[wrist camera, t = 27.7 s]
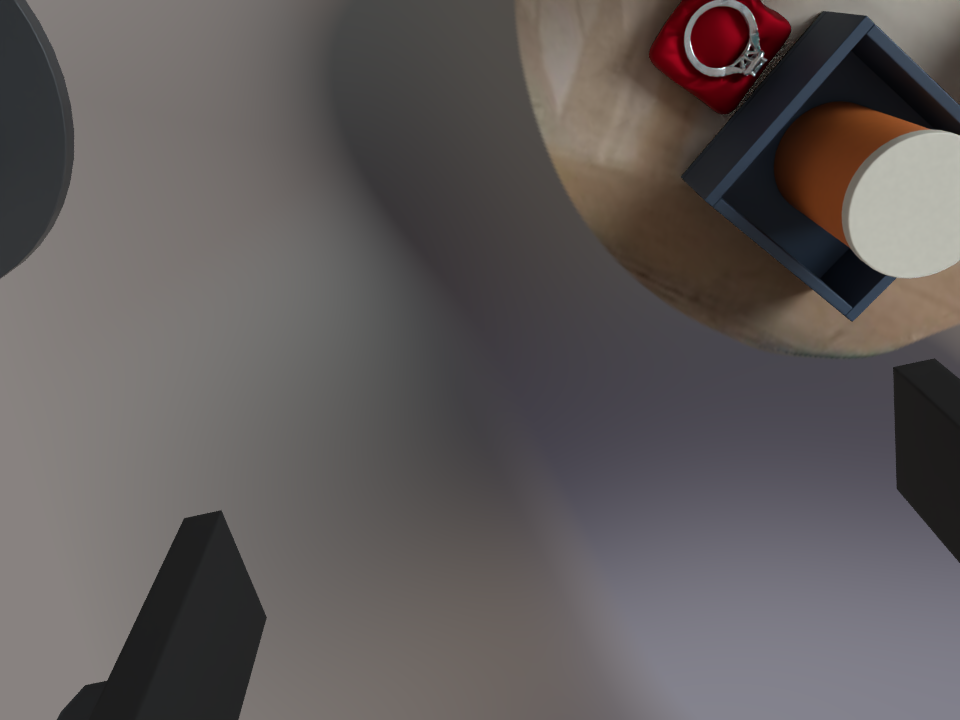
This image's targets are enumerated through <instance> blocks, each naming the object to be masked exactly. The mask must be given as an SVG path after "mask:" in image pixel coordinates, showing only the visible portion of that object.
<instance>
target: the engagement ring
mask: <svg viewBox="0 0 960 720" xmlns="http://www.w3.org/2000/svg"><path fill="white" fill-rule="evenodd" d="M790 32H791V26H790V24H789V22H788V21H787V20H786V19H785V18H784V17H783V16H782V15H780V14H779V13H777V12H776V11H774V10H772V9H769V8H768V7H766V6H765V5H763V4H762V2H761V1H760V0H682V1H681V3H680V4H679V5H678V7H677V8H676V9H675V10H674V12H673V13H672V14H671V16H670V17H669V19H668V20H667V22H666V23H665V25H664V26H663V28H662V29H661V31H660V33H659V34H658V36H657V38H656V39H655V41H654V42H653V44H652V46H651V48H650V51H649V58H650V60H651V62H652V63H653V65H654V66H655V67H656V68H658V69H659V70H660V71H661V72H663V73H664V74H665V75H666V76H668V77H669V78H670V79H671V80H673V81H674V82H675V83H677V84H678V85H680V86H682V87H683V88H685V89H686V90H687V91H689V92H690V93H692V94H693V95H694V96H696V97H697V98H698V99H700V100H701V101H702V102H704V103H705V104H706V105H707V106H709V107H710V108H711V109H712V110H714V111H715V112H717V113H719V114H729V113H730V112H732V111H733V110H734V109H735V108H736V107H737V106H738V104H739V103H740V102H741V100H742V99H743V97H744V96H745V95H746V93H747V92H748V91H749V89H750V88H751V86H752V85H753V84H754V82H755V81H756V80H757V79H758V77H759V76H760V74H761V73H762V72H763V71H764V69H765V68H766V67H767V65H768V64H769V63H770V61H771V60H772V59H773V57H774V56H775V55H776V54H777V53H778V51H779V50H780V49H781V47H782V46H783V45H784V43H785V42H786V40H787V39H788V37H789V35H790Z"/></svg>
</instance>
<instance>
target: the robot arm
mask: <svg viewBox="0 0 960 720" xmlns="http://www.w3.org/2000/svg"><path fill="white" fill-rule="evenodd" d="M893 372H894V373H893V374H894V410H895V441H896V442H895V444H896V478H897V489H898V491H899V492H900V493H901V494H902V495H903V497H904V498H905V499H906V500H907V501H908V502H909V504H910V505H911V506H912V507H913V508H914V510H915V511H916V512H917V513H918V514H919V515H920V517H921V518H922V519H923V520H924V521H925V522H926V524H927V525H928V526H929V527H930V528H931V530H932V531H933V532H934V533H935V534H936V535H937V537H938V538H939V539H940V540H941V541H942V543H943V544H944V545H945V546H946V547H947V548H948V550H949V551H950V552H951V553H952V554H953V556H954V557H955V558H956V559H957V560H958V561H959V563H960V379H959V378H958V377H956V376H955V375H954V374H953V373H951V372H950V371H949V370H948V369H947V368H945V367H944V366H943V365H942V364H941V363H939V362H938V361H937V360H936V359H930V360H926V361H921V362H916V363H911V364H906V365H902V366H897V367H893ZM266 618H267V617H266V615H265V612H264V610H263V608H262V605H261V603H260V601H259V598H258V596H257V594H256V591H255V589H254V587H253V584H252V582H251V579H250V577H249V575H248V572H247V570H246V568H245V565H244V563H243V560H242V558H241V556H240V553H239V551H238V549H237V546H236V544H235V542H234V539H233V537H232V534H231V532H230V530H229V528H228V525H227V523H226V520H225V518H224V516H223V513H222V511H216V512H212V513H207V514H202V515H197V516H193V517H188V518H184V520H183V522H182V524H181V526H180V528H179V530H178V533H177V535H176V537H175V539H174V541H173V543H172V545H171V547H170V550H169V551H168V554H167V556H166V558H165V560H164V562H163V564H162V566H161V568H160V570H159V573H158V575H157V577H156V579H155V581H154V583H153V585H152V588H151V590H150V592H149V594H148V596H147V598H146V600H145V602H144V604H143V606H142V608H141V611H140V613H139V615H138V617H137V619H136V621H135V623H134V625H133V628H132V630H131V632H130V634H129V636H128V638H127V640H126V642H125V645H124V647H123V649H122V651H121V653H120V655H119V657H118V659H117V661H116V663H115V666H114V668H113V670H112V672H111V674H110V676H109V678H108V680H107V681H104V682H99V683H94V684H90V685H85V686H84V687H83V688H82V689H81V690H80V692H79V693H78V694H77V695H76V696H75V697H74V698H73V699H72V701H70V703H69V704H68V705H67V706H66V707H65V708H64V709H63V710H62V711H61V713H60V715H59V717H58V719H57V720H238V719H239V715H240V712H241V708H242V705H243V701H244V697H245V694H246V690H247V686H248V683H249V679H250V676H251V672H252V668H253V665H254V661H255V657H256V654H257V650H258V647H259V643H260V639H261V636H262V632H263V628H264V625H265V621H266Z"/></svg>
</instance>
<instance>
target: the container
mask: <svg viewBox="0 0 960 720" xmlns="http://www.w3.org/2000/svg"><path fill="white" fill-rule="evenodd" d="M774 176H775V181H776V184H777V187H778V189H779V191H780V193H781V195H782V196H783V197H784V199H785V200H786V201H787V202H788V203H789V204H790V205H791V206H793V207H794V208H796V209H797V210H798V211H800V212H801V213H802V214H804V215H805V216H807V217H808V218H809V219H811V220H812V221H813V222H815V223H816V224H818V225H819V226H820V227H822V228H823V229H824V230H826V231H827V232H829V233H830V234H831V235H833V236H834V237H835V238H837V239H838V240H840V241H841V242H842V243H844V244H845V245H846V246H848V247H849V248H851V250H852V251H853V252H854V254H855V255H856V256H857V257H858V258H859V259H860V260H861V261H863V262H864V263H865V264H867V265H868V266H869V267H871V268H872V269H874V270H876V271H878V272H879V273H882V274H884V275H887V276H891V277H896V278H919V277H924V276H929V275H932V274H935V273H938V272H940V271H942V270H945V269H947V268H949V267H950V266H952V265H954V264H955V263H957V262H958V261H960V135H957V134H954V133H951V132H947V131H943V130H932V129H928V128H925V127H922V126H920V125H917V124H914V123H911V122H908V121H905V120H902V119H899V118H896V117H893V116H890V115H887V114H885V113H882V112H879V111H876V110H873V109H870V108H867V107H864V106H861V105H858V104H855V103H851V102H842V101H839V102H830V103H825V104H822V105H819V106H816V107H814V108H812V109H810V110H809V111H807V112H805V113H804V114H802V115H801V116H800V117H799V118H797V119H796V120H795V121H794V122H793V123H792V124H791V126H790V127H789V128H788V129H787V131H786V132H785V134H784V135H783V137H782V139H781V141H780V143H779V145H778V148H777V151H776V155H775V160H774Z"/></svg>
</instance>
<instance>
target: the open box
mask: <svg viewBox="0 0 960 720" xmlns="http://www.w3.org/2000/svg"><path fill="white" fill-rule="evenodd" d="M839 101H842V102H851V103H855V104H858V105H861V106H864V107H867V108H870V109H873V110H876V111H879V112H882V113H885V114H887V115H890V116H893V117H896V118H899V119H902V120H905V121H908V122H911V123H914V124H917V125H920V126H922V127H925V128H928V129H932V130H943V131H947V132H951V133H954V134H957V135H960V105H959V104H958V103H957V102H956V101H955V100H954V99H952V98H951V97H950V96H949V95H948V94H947V93H946V92H945V91H944V90H943V89H942V88H941V87H940V86H939V85H938V84H937V83H936V82H935V81H934V80H933V79H932V78H931V77H930V76H929V75H928V74H926V73H925V72H924V71H923V70H922V69H921V68H920V67H919V66H918V65H917V64H916V63H915V62H914V61H913V60H912V59H911V58H910V57H909V56H908V55H907V54H906V53H905V52H904V51H903V50H902V49H900V48H899V47H898V46H897V45H896V44H895V43H894V42H893V41H892V40H891V39H890V38H889V37H888V36H887V35H886V34H885V33H884V32H883V31H882V30H881V29H880V28H879V27H878V26H877V25H875V24H874V22H873V21H872V20H870V19H869V18H868V17H867V16H863V15H854V14H845V13H836V12H826V11H823V12H822V13H821V14H820V15H819V16H818V18H817V19H816V20H815V21H814V22H813V23H812V25H811V26H810V27H809V28H808V29H807V30H806V32H805V33H804V34H803V35H802V36H801V37H800V39H799V40H798V41H797V42H796V43H795V44H794V46H793V47H792V48H791V49H790V50H789V51H788V53H787V54H786V55H785V56H784V57H783V58H782V60H781V61H780V62H779V63H778V64H777V65H776V67H775V68H774V69H773V70H772V71H771V72H770V74H769V75H768V76H767V77H766V78H765V79H764V81H763V82H762V83H761V84H760V85H759V86H758V88H757V89H756V90H755V91H754V92H753V93H752V95H751V96H750V97H749V98H748V99H747V100H746V102H745V103H744V104H743V105H742V106H741V107H740V108H739V110H738V111H737V112H736V113H735V114H734V115H733V117H732V118H731V119H730V120H729V121H728V122H727V124H726V125H725V126H724V127H723V128H722V129H721V131H720V132H719V133H718V134H717V135H716V136H715V138H714V139H713V140H712V141H711V142H710V143H709V145H708V146H707V147H706V148H705V149H704V150H703V152H702V153H701V154H700V155H699V156H698V157H697V159H696V160H695V161H694V162H693V163H692V164H691V166H690V167H689V168H688V169H687V170H686V171H685V173H684V174H683V175H682V176H681V178H682V179H683V180H684V181H685V182H686V183H687V184H688V185H689V186H690V187H691V188H692V189H693V190H694V191H695V192H696V193H697V194H698V195H700V196H701V197H702V198H703V199H704V200H705V201H706V202H707V203H708V204H709V205H711V206H712V207H713V208H714V209H716V210H717V211H718V212H719V213H720V214H722V215H723V216H724V217H725V218H726V219H728V220H729V221H730V222H731V223H733V224H734V225H735V226H736V227H737V228H739V229H740V230H741V231H742V232H743V233H745V234H746V235H747V236H748V237H750V238H751V239H752V240H753V241H754V242H756V243H757V244H758V245H759V246H760V247H762V248H763V249H764V250H765V251H767V252H768V253H769V254H770V255H771V256H773V257H774V258H775V259H776V260H777V261H779V262H780V263H781V264H782V265H784V266H785V267H786V268H787V269H788V270H790V271H791V272H792V273H793V274H794V275H796V276H797V277H798V278H799V279H801V280H802V281H803V282H804V283H805V284H807V285H808V286H809V287H810V288H811V289H813V290H814V291H815V292H816V293H818V294H819V295H820V296H821V297H822V298H824V299H825V300H826V301H827V302H828V303H830V304H831V305H832V306H833V307H835V308H836V309H837V310H838V311H839V312H841V313H842V314H843V315H844V316H845V317H847V318H848V319H849V320H850V321H854V320H855V319H856V318H857V317H858V316H859V315H860V314H861V313H862V312H863V311H864V310H865V309H866V308H867V307H868V306H869V305H870V304H871V303H872V302H873V301H874V300H875V299H876V298H877V297H878V296H879V295H880V294H881V293H882V292H883V291H884V290H885V289H886V288H887V287H888V286H889V285H890V284H891V283H892V282H893V281H894V280H895V279H896V277H891V276H887V275H884V274H882V273H879V272H878V271H876V270H874V269H872V268H871V267H869V266H868V265H867V264H865V263H864V262H863V261H861V260H860V259H859V258H858V257H857V256H856V255H855V254H854V252H853V251H852V250H851V248H849V247H848V246H846V245H845V244H844V243H842V242H841V241H840V240H838V239H837V238H835V237H834V236H833V235H831V234H830V233H829V232H827V231H826V230H824V229H823V228H822V227H820V226H819V225H818V224H816V223H815V222H813V221H812V220H811V219H809V218H808V217H807V216H805V215H804V214H802V213H801V212H800V211H798V210H797V209H796V208H794V207H793V206H791V205H790V204H789V203H788V202H787V201H786V200H785V199H784V197H783V196H782V195H781V193H780V191H779V189H778V187H777V184H776V181H775V176H774V160H775V155H776V151H777V148H778V145H779V143H780V141H781V139H782V137H783V135H784V134H785V132H786V131H787V129H788V128H789V127H790V126H791V124H792V123H793V122H794V121H795V120H796V119H797V118H799V117H800V116H801V115H802V114H804V113H805V112H807V111H809V110H810V109H812V108H814V107H816V106H819V105H822V104H825V103H830V102H839Z"/></svg>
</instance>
